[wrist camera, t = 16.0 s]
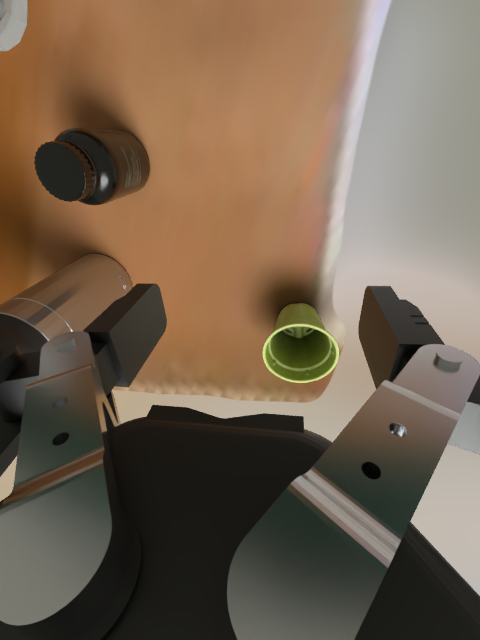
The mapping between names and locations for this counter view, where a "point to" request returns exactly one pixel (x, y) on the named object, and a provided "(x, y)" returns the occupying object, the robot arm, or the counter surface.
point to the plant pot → (300, 346)
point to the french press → (12, 22)
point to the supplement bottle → (92, 165)
